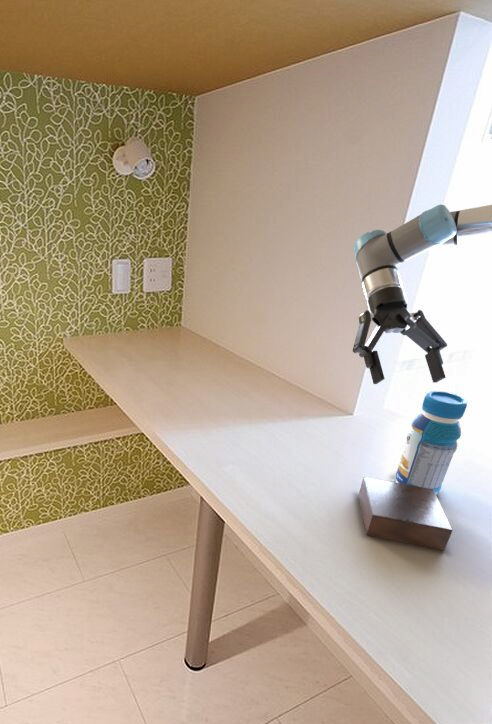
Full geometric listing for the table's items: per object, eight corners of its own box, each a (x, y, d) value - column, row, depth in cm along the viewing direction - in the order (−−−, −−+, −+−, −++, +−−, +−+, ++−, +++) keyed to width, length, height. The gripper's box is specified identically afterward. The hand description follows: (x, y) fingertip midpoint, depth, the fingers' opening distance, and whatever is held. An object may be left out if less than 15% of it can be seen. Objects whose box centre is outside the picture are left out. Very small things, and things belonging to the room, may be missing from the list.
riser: (426, 508, 83) (433, 489, 81) (444, 551, 73) (452, 530, 71) (358, 495, 87) (363, 477, 85) (366, 535, 76) (372, 514, 74)
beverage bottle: (422, 501, 85) (455, 409, 77) (384, 479, 92) (411, 392, 83) (449, 491, 88) (484, 402, 80) (410, 470, 95) (438, 386, 87)
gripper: (424, 303, 103) (450, 386, 96) (324, 304, 100) (343, 389, 93) (447, 284, 96) (478, 372, 89) (340, 284, 93) (363, 374, 86)
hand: (409, 381), depth 91 cm, fingers open, 13 cm apart
